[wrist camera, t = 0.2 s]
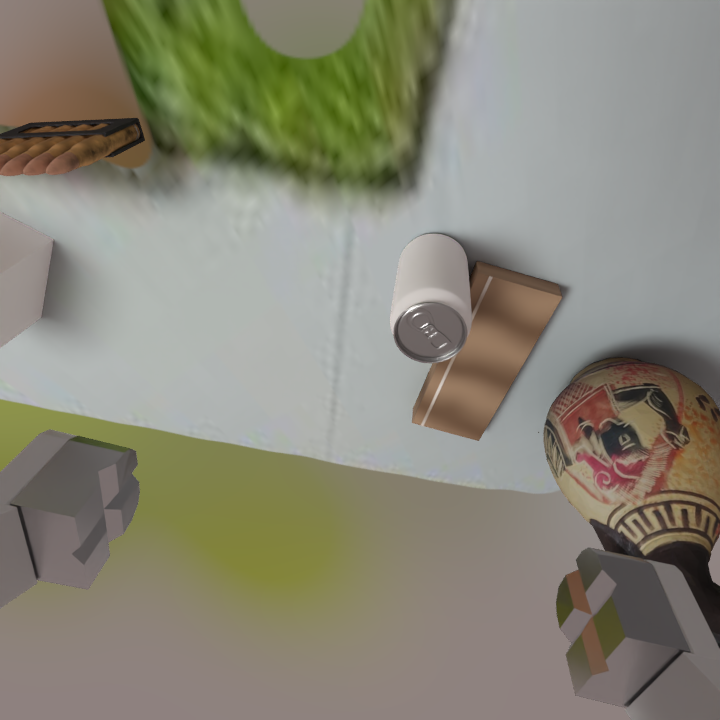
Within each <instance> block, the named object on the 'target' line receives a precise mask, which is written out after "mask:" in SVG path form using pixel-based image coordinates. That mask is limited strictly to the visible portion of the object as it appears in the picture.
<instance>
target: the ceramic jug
mask: <svg viewBox="0 0 720 720" xmlns="http://www.w3.org/2000/svg"><path fill="white" fill-rule="evenodd" d="M538 433H539V432H538ZM544 447H545V453H546V457H547V461H548V464H549V466H550V469H551V471H552V474H553V476H554V478H555V480H556V482H557V484H558V486H559V488H560V489H561V491H562V493H563V494H564V495H565V497H566V498H567V499H568V501H569V502H570V503H571V505H573V506H574V507H575V508H576V509H577V510H578V512H579V513H580V514H581V515H582V516H583V518H584V519H585V520H586V521H587V522H589V523H590V524H591V525H592V526H593V528H594V529H595V531H596V533H597V535H598V537H599V539H600V541H601V543H602V545H603V547H604V549H605V551H609V552H613V553H618V554H623V555H628V556H633V557H638V558H642V559H643V560H651V561H656V562H660V563H665V564H670V565H674V566H676V567H677V568H678V569H679V570H680V571H681V572H682V574H683V576H684V578H685V580H686V582H687V584H688V586H689V588H690V590H691V592H692V594H693V596H694V598H695V600H696V602H697V604H698V606H699V608H700V610H701V612H702V614H703V616H704V618H705V620H706V622H707V624H708V626H709V628H710V630H711V632H712V634H713V636H714V638H715V640H716V642H717V644H718V646H719V648H720V586H719V585H717V584H716V583H714V582H713V581H712V579H711V576H710V572H709V567H708V562H709V560H710V556H711V551H712V549H713V547H714V545H715V543H716V541H717V539H718V538H719V535H720V411H719V409H718V407H717V406H716V404H715V402H714V401H713V399H712V398H711V397H710V396H709V395H708V394H707V393H706V392H705V391H704V389H703V388H702V387H701V386H699V385H698V384H696V383H695V382H693V381H691V380H690V379H688V378H687V377H685V376H684V375H682V374H680V373H679V372H677V371H675V370H673V369H670V368H668V367H665V366H663V365H659V364H654V363H646V362H642V361H640V360H638V359H632V358H623V357H618V358H609V359H605V360H602V361H599V362H595V363H593V364H591V365H589V366H587V367H586V368H584V369H583V370H581V371H580V372H579V373H577V374H576V375H575V376H574V378H573V379H572V381H571V383H570V385H569V386H568V387H566V388H565V389H564V390H563V391H562V392H561V393H560V394H559V396H558V397H557V398H556V399H555V401H554V402H553V404H552V405H551V407H550V409H549V412H548V415H547V420H546V423H545V427H544Z"/></svg>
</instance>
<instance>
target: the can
mask: <svg viewBox="0 0 720 720" xmlns="http://www.w3.org/2000/svg"><path fill="white" fill-rule="evenodd" d="M471 324H472V311H471V297H470V284H469V272H468V262H467V257H466V254H465V251H464V250H463V248H462V247H461V245H460V244H459V243H458V242H457V241H455V240H454V239H452V238H451V237H448V236H446V235H442V234H425V235H421V236H419V237H417V238H415V239H414V240H412V241H411V242H410V243H409V244H408V245H407V246H406V247H405V248H404V250H403V252H402V254H401V256H400V260H399V264H398V270H397V276H396V282H395V288H394V295H393V301H392V308H391V315H390V326H391V330H392V333H393V335H394V340H395V343H396V345H397V347H398V348H399V349H400V351H401V352H402V353H403V354H405V355H406V356H407V357H409V358H411V359H413V360H415V361H418V362H422V363H439V362H443V361H446V360H448V359H450V358H452V357H454V356H455V355H456V354H458V353H459V352H460V351H461V349H462V348H463V346H464V345H465V342H466V339H467V337H468V335H469V333H470V330H471Z"/></svg>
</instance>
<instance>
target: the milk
mask: <svg viewBox="0 0 720 720" xmlns="http://www.w3.org/2000/svg"><path fill="white" fill-rule="evenodd" d="M53 241H54V239H52V238H50V237H48V236H46V235H45V234H43V233H41V232H39V231H37V230H35V229H33V228H31V227H29V226H27V225H25V224H23V223H21V222H19V221H17V220H15V219H13V218H11V217H9V216H7V215H5V214H3V213H1V212H0V348H1V347H2V346H4V345H5V344H6V343H8V342H9V341H10V340H12V339H13V338H15V337H16V336H17V335H19V334H20V333H21V332H23V331H24V330H25V329H27V328H28V327H29V326H31V325H32V324H33V323H35V322H36V321H37V320H39V319H40V318H41V316H42V310H43V304H44V298H45V291H46V285H47V279H48V273H49V266H50V260H51V254H52V248H53Z"/></svg>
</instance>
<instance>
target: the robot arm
mask: <svg viewBox="0 0 720 720" xmlns="http://www.w3.org/2000/svg"><path fill="white" fill-rule="evenodd" d="M137 465H138V463H137V455H136V451H135V450H133V449H130V448H126V447H122V446H118V445H114V444H110V443H105V442H101V441H97V440H93V439H89V438H85V437H80V436H75V435H71V434H67V433H63V432H58V431H54V430H47V431H45V432H43V433H40V434H39V435H38V436H37V437H36V438H35V439H34V440H33V441H32V442H31V443H30V444H29V445H27V447H25V448H24V449H23V450H22V451H21V453H19V454H18V455H17V456H16V457H15V458H14V459H13V460H12V461H11V462H10V463H9V464H8V465H7V466H6V467H5V468H4V469H3V470H2V471H1V472H0V608H1V607H3V606H4V605H6V604H7V603H9V602H10V601H12V600H13V599H15V598H16V597H18V596H19V595H21V594H22V593H24V592H25V591H27V590H28V589H30V588H31V587H32V586H34V585H35V584H37V580H40V581H45V582H50V583H56V584H61V585H66V586H72V587H77V588H82V589H89V588H90V586H91V584H92V583H93V581H94V580H95V578H96V577H97V575H98V573H99V572H100V570H101V569H102V567H103V566H104V564H105V562H106V561H107V559H108V558H109V556H110V553H109V544H108V542H110V541H112V540H113V539H115V538H117V537H119V536H121V535H122V534H124V532H125V531H126V529H127V527H128V525H129V524H130V522H131V521H132V518H133V515H134V513H135V510H136V508H137V505H138V500H139V493H140V490H139V482H138V481H137V479H136V478H135V477H134V476H133V475H132V472H133V470H134V469H135V468H136V466H137ZM576 562H577V566H578V570H576V571H574V572H572V573H569V574H567V575H566V576H565V577H564V579H563V581H562V582H561V584H560V586H559V588H558V594H557V599H556V610H557V618H558V622H559V627H560V630H561V631H562V632H563V633H564V635H565V636H566V637H567V638H568V640H569V641H570V642H571V645H570V647H569V649H568V651H567V653H566V658H567V662H568V666H569V670H570V675H571V679H572V683H573V688H574V691H575V695H576V696H580V697H583V698H587V699H591V700H596V701H600V702H604V703H608V704H612V705H616V706H620V707H624V708H627V709H626V710H625V712H626V713H627V715H628V716H629V718H630V719H631V720H720V648H719V646H718V644H717V642H716V640H715V638H714V636H713V634H712V632H711V630H710V628H709V626H708V624H707V622H706V620H705V618H704V616H703V614H702V612H701V610H700V608H699V606H698V604H697V602H696V600H695V598H694V596H693V594H692V592H691V590H690V588H689V586H688V584H687V582H686V580H685V578H684V576H683V574H682V572H681V571H680V570H679V569H678V568H677V567H676V566H674V565H670V564H665V563H660V562H656V561H651V560H643V559H642V558H638V557H633V556H628V555H623V554H618V553H613V552H609V551H603V550H599V549H594V548H587V549H585V550H583V551H582V552H581V553H580V555H579V556H578V557H577V559H576Z"/></svg>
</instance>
